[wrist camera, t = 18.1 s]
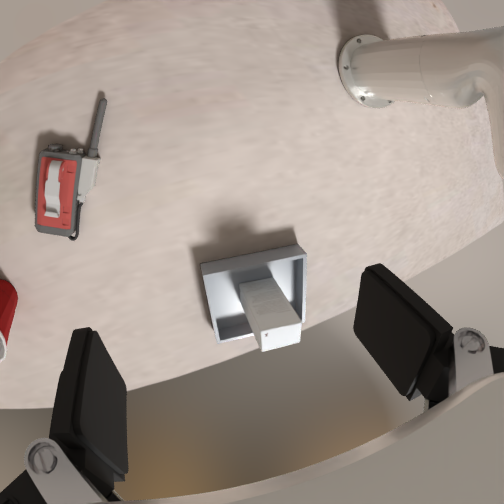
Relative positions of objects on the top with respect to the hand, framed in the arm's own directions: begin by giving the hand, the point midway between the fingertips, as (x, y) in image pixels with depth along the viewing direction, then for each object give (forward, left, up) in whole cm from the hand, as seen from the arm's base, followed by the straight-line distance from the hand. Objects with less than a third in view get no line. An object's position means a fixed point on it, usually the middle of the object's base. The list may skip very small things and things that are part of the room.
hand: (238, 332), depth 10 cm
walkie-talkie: (+16, -2, -34) cm, 37 cm away
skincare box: (-8, +23, -33) cm, 41 cm away
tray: (-8, +23, -33) cm, 41 cm away
